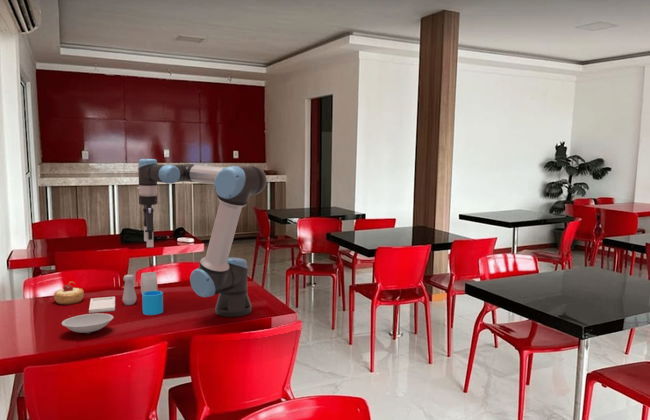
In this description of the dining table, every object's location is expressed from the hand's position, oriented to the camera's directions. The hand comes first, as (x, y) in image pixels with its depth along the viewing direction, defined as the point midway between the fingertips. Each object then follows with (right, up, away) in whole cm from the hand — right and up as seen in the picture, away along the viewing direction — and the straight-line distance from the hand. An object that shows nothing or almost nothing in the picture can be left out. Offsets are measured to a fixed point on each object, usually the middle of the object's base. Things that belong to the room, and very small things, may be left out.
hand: (148, 244), depth 227 cm
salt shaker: (-10, -27, +5) cm, 29 cm away
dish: (-12, -31, -31) cm, 46 cm away
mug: (+3, -28, -4) cm, 29 cm away
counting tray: (-20, -27, +1) cm, 34 cm away
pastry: (-38, -26, +7) cm, 46 cm away
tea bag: (-7, -25, +22) cm, 34 cm away
